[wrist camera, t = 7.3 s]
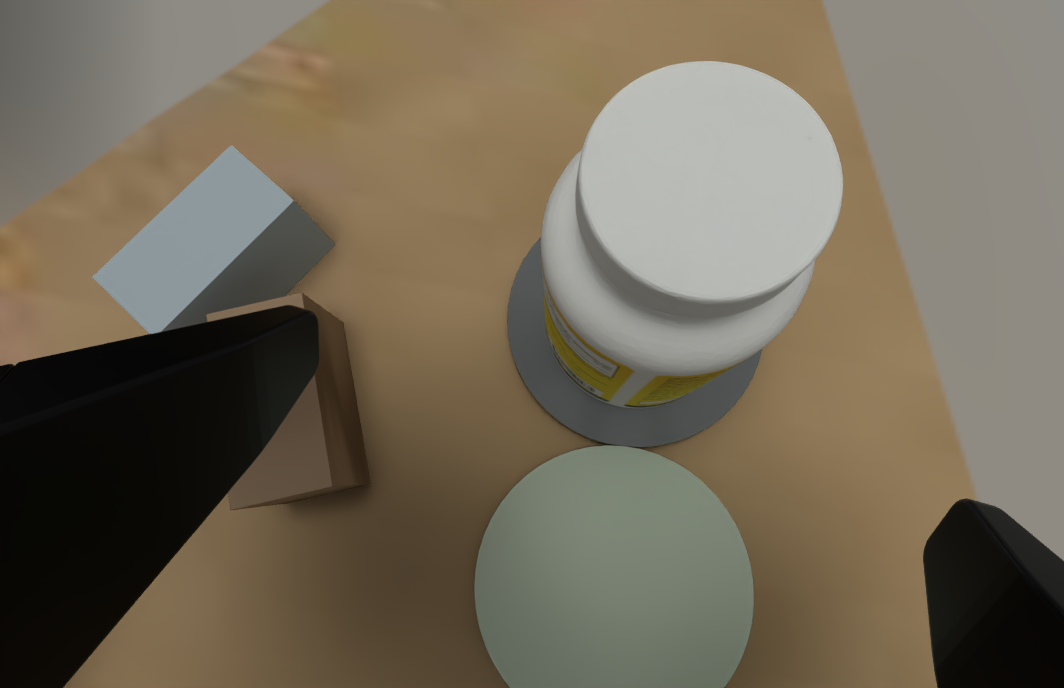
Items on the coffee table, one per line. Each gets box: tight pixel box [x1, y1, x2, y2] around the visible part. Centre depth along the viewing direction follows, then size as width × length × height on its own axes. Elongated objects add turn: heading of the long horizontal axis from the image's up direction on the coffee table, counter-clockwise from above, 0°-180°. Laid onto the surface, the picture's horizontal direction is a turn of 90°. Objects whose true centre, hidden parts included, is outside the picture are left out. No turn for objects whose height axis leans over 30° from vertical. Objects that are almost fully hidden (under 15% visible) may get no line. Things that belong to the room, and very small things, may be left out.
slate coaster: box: [507, 238, 762, 448], centre depth 22 cm, size 9×9×1 cm
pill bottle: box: [541, 61, 843, 408], centre depth 16 cm, size 6×6×11 cm
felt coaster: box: [474, 445, 754, 688], centre depth 20 cm, size 9×9×1 cm
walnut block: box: [206, 293, 371, 510], centre depth 20 cm, size 6×3×4 cm, turn 13°
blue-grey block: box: [93, 145, 335, 334], centre depth 21 cm, size 6×3×4 cm, turn 139°
